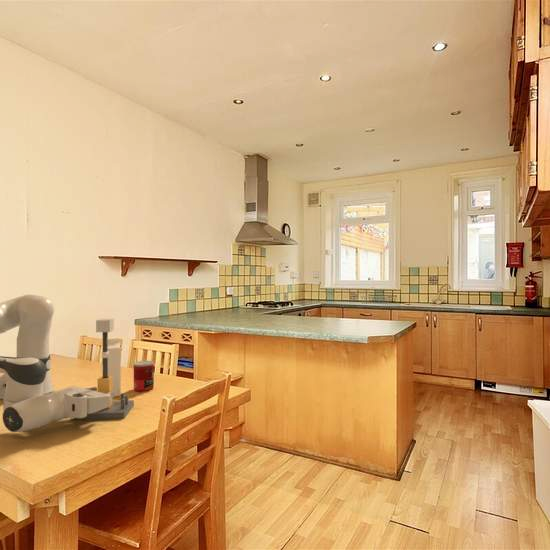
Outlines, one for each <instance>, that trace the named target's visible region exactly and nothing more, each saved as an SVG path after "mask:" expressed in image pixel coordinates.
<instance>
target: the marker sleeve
mask: <svg viewBox="0 0 550 550" xmlns="http://www.w3.org/2000/svg"><path fill="white" fill-rule="evenodd" d="M96 380H97V392H101V393H105V394H107V393H108V392H110V391H113V376H108V378H103V375H101V376H100V377H99V378H97V379H96ZM113 401H114V397H112V398H111V404H110V406H109V407H107V408H110V407H111V406H112V405H113Z"/></svg>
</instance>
